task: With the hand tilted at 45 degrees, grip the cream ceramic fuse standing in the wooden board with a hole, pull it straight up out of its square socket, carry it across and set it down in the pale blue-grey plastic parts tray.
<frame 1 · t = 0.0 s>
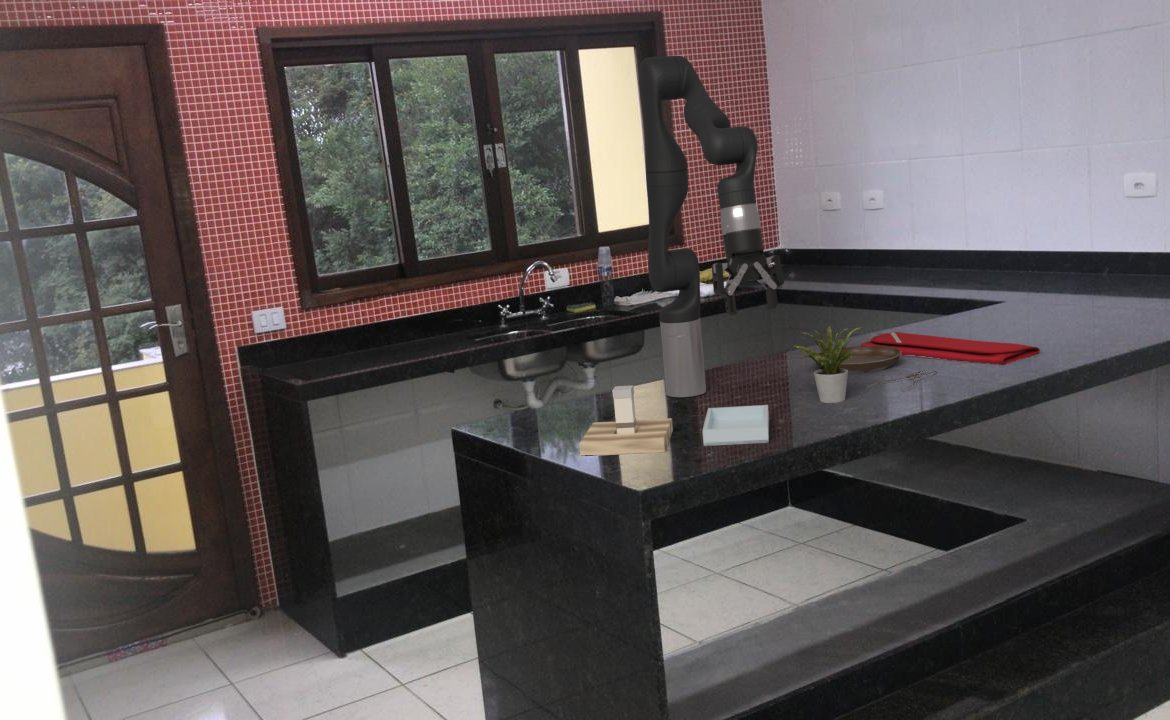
hand: (752, 312, 209), 22 cm above the table, tool pointing down, fingers open, 8 cm apart
house plant: (835, 399, 227), on the table
fuse: (625, 415, 207), in the wooden board with hole
wooden board with hole: (628, 443, 208), on the table
plant saucer: (857, 367, 259), on the table
parts tray: (737, 432, 208), on the table
dish drying mat: (945, 355, 264), on the table
pliers: (901, 383, 238), on the table
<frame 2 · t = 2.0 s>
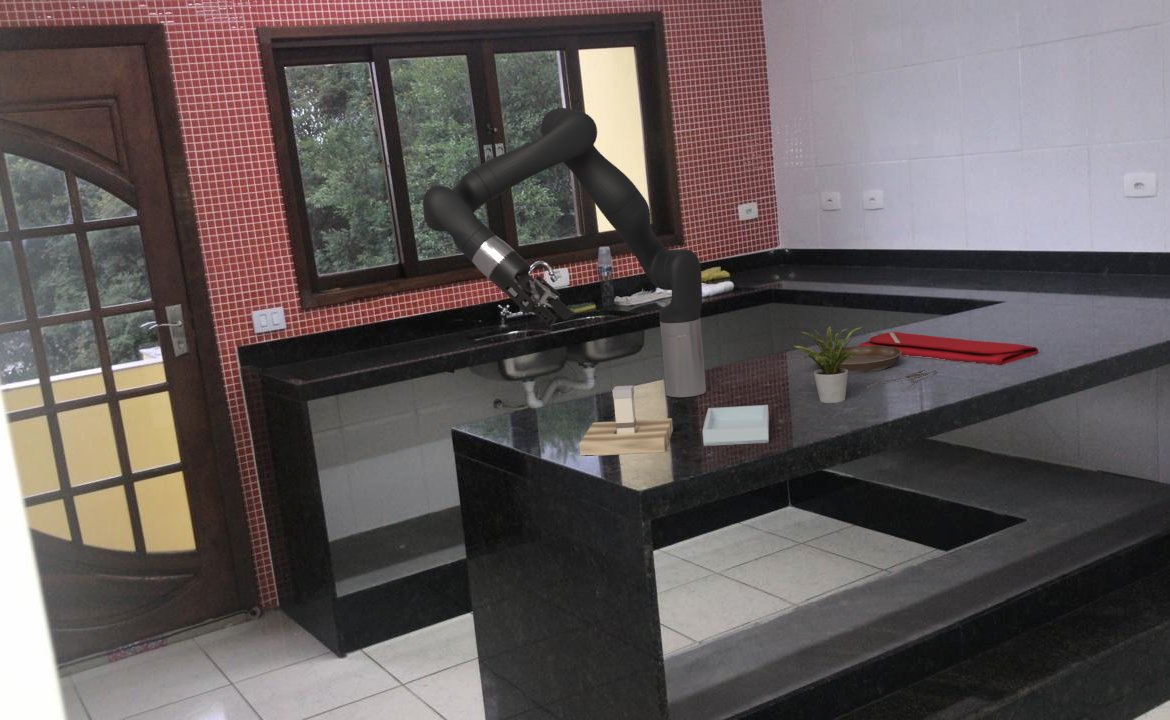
hand: (561, 319, 207), 25 cm above the table, tool tilted 45°, fingers open, 8 cm apart
nothing on the table moved.
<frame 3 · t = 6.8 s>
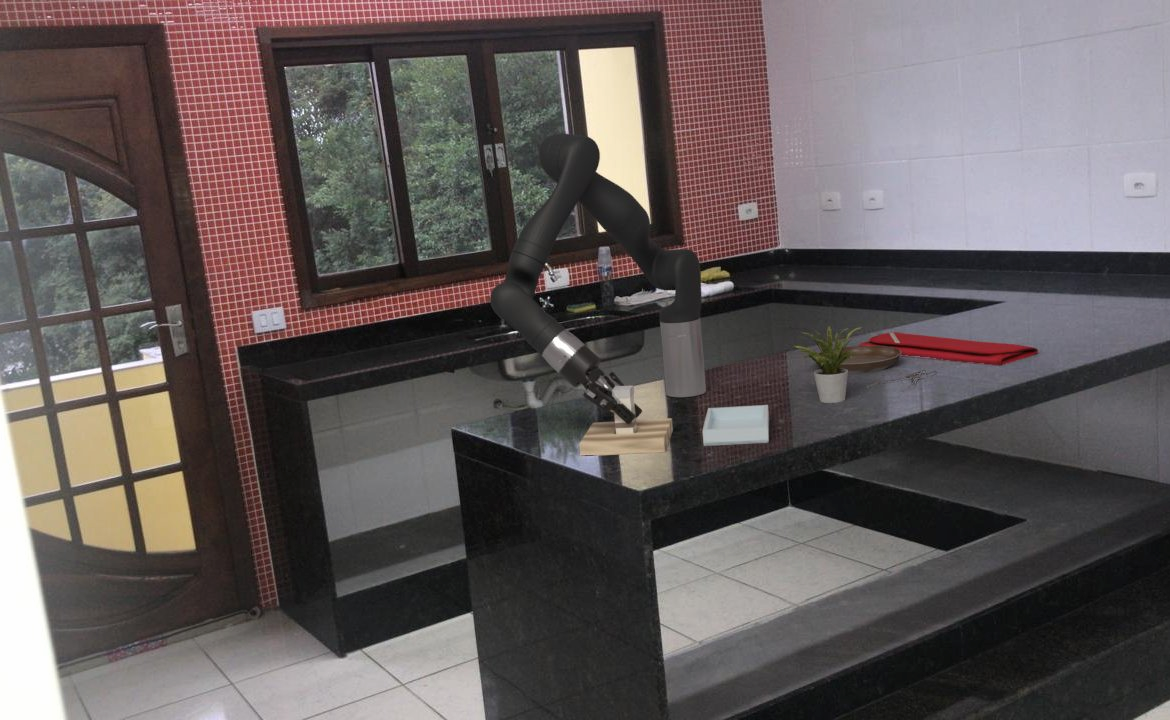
hand: (635, 417, 206), 5 cm above the table, tool tilted 45°, fingers closed on fuse, 3 cm apart
fuse: (625, 415, 207), in the wooden board with hole, touching gripper
everything else where it was.
when the fingers open (7 cm above the table, at t = 13.6 s): fuse drops 2 cm, resting on parts tray.
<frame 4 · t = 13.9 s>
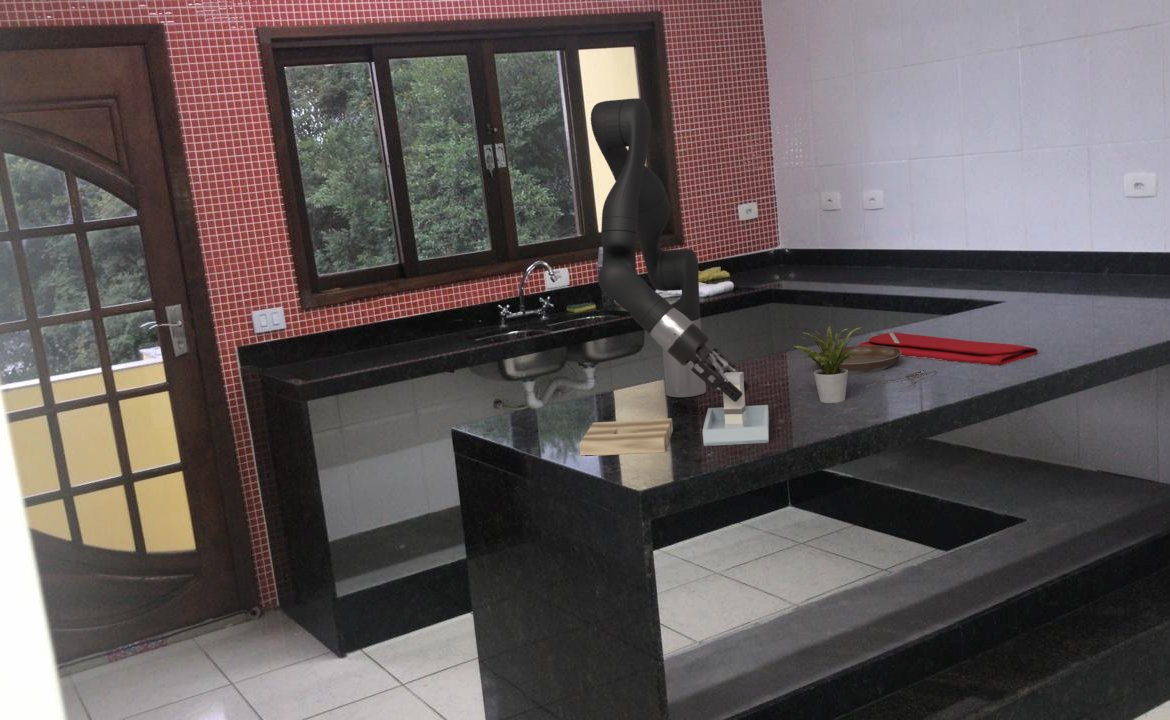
hand: (743, 394, 206), 8 cm above the table, tool tilted 45°, fingers open, 6 cm apart
fuse: (734, 401, 206), in the parts tray, point 6 cm above the table
everything else where it was.
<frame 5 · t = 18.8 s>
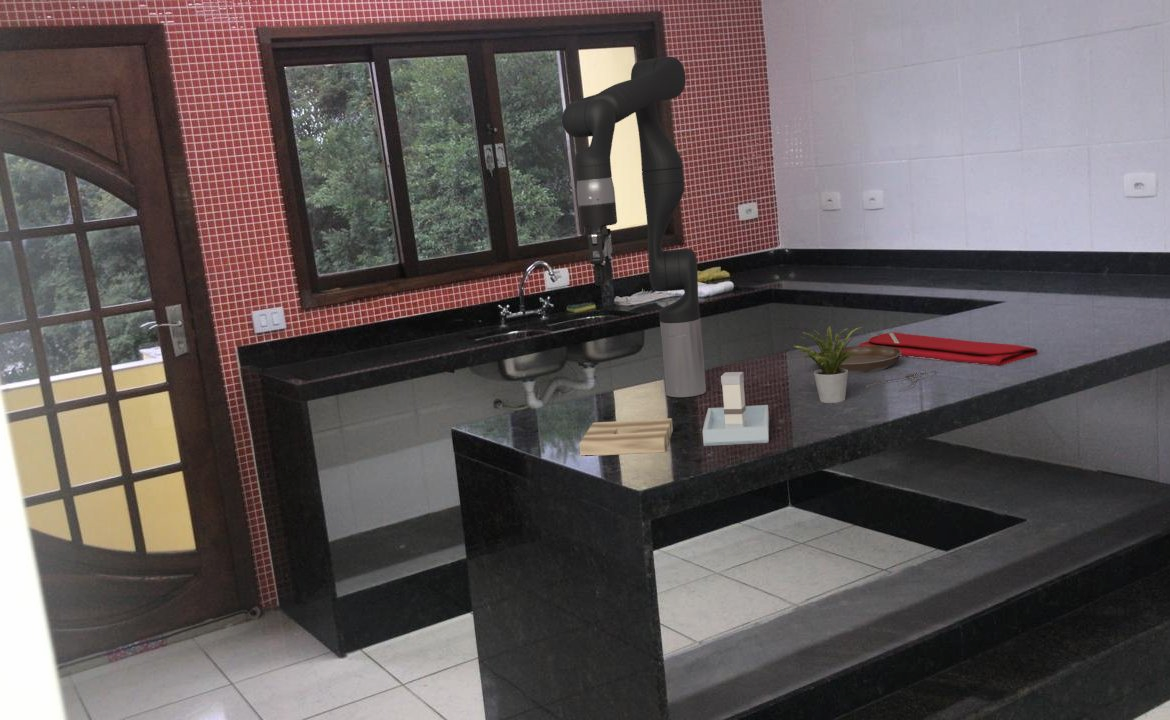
hand: (604, 282, 217), 30 cm above the table, tool pointing down, fingers open, 8 cm apart
at the end: fuse inside the target area on the parts tray (0.3 cm from its centre), point 6.1 cm above the parts tray's base; the gripper is holding nothing; fuse moved 21.2 cm from its start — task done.
